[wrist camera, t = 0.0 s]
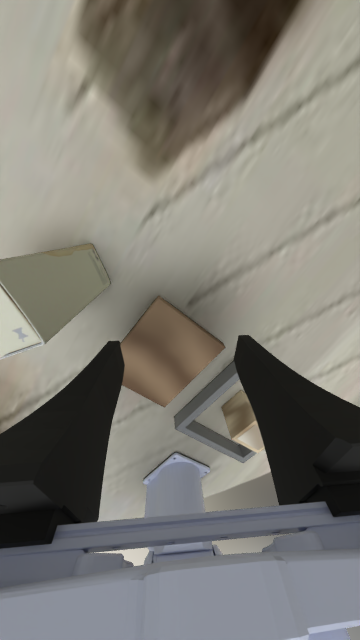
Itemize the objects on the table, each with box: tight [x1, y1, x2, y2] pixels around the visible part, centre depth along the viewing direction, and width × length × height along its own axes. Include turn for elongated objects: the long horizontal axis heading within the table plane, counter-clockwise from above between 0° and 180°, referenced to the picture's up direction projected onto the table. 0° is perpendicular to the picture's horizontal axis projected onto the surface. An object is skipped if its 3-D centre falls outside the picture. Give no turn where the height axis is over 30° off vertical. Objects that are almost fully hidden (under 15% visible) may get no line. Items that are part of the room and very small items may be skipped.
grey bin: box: [175, 361, 256, 463], centre depth 28 cm, size 15×14×2 cm
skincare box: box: [0, 244, 111, 359], centre depth 14 cm, size 6×4×12 cm
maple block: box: [222, 390, 265, 453], centre depth 27 cm, size 4×5×5 cm
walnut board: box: [120, 295, 225, 407], centre depth 24 cm, size 12×10×1 cm
